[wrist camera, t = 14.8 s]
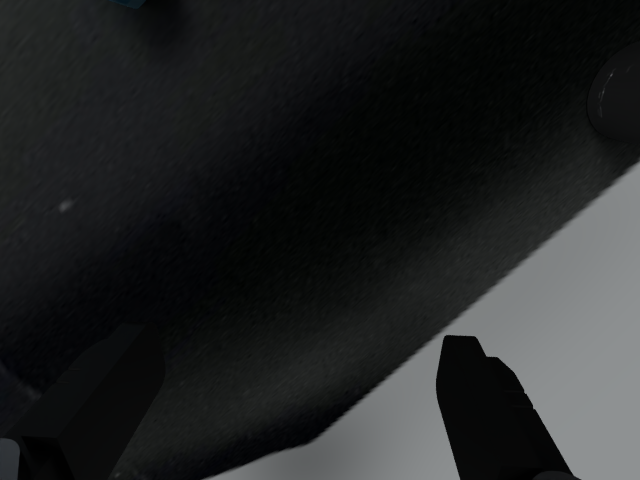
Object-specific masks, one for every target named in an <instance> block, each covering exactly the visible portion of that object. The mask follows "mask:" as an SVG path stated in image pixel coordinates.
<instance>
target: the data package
mask: <svg viewBox="0 0 640 480" xmlns="http://www.w3.org/2000/svg"><path fill="white" fill-rule="evenodd" d="M109 1H112V2H115V3H118V4H121V5H125V6H128V7H131V8H134V9H138V8H140V6H141V5H142V4H143V3H144V2H145V1H146V0H109Z"/></svg>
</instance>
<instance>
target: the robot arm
mask: <svg viewBox="0 0 640 480" xmlns="http://www.w3.org/2000/svg"><path fill="white" fill-rule="evenodd" d="M587 111H588V116H589V119H590V122H591V123H592V125H593V126H594V128H595V129H596V130H597V131H598V132H599V133H600V134H602V135H604V136H606V137H608V138H611V139H615V140H619V141H623V142H627V143H631V144H636V145H639V146H640V41H638V42H635V43H633V44H631V45H628V46H626V47H625V48H623V49H622V50H620V51H619V52H617V53H616V54H615V55H614V56H613V57H611V58H610V59H609V60H608V61H607V62H606V63H605V64H604V66H603V67H602V68H601V69H600V71H599V72H598V74H597V75H596V77H595V79H594V81H593V83H592V85H591V88H590V91H589V94H588V100H587ZM164 377H165V361H164V356H163V352H162V348H161V343H160V339H159V334H158V330H157V327H156V325H155V324H154V323H152V322H123V323H122V324H121V325H120V326H119V327H118V328H117V329H116V330H115V331H114V332H113V334H112V335H111V336H110V337H109V338H108V339H103V340H101V341H100V342H98V343H96V344H95V345H93V346H92V347H90V348H89V349H87V350H86V351H84V352H83V353H82V354H81V355H80V356H79V357H78V358H77V359H76V360H75V361H74V362H73V364H72V365H71V366H70V367H69V370H68V371H65V372H64V373H63V374H62V375H61V376H60V377H59V378H58V379H57V382H56V384H53V385H52V386H51V387H50V388H49V389H48V390H47V391H46V392H45V393H44V394H43V395H42V396H41V397H40V399H39V400H38V401H37V402H36V403H35V404H34V405H33V406H32V407H31V408H30V409H29V410H28V411H27V412H26V413H25V414H24V416H23V417H22V418H21V419H20V420H19V421H18V422H17V423H16V424H15V425H14V426H13V427H12V428H11V429H10V430H9V431H8V433H7V434H6V435H5V436H4V437H3V438H0V480H107V479H108V477H109V475H110V473H111V472H112V470H113V468H114V467H115V465H116V463H117V461H118V460H119V458H120V456H121V455H122V453H123V451H124V450H125V448H126V446H127V444H128V443H129V441H130V439H131V438H132V436H133V434H134V432H135V431H136V429H137V427H138V426H139V424H140V422H141V421H142V419H143V417H144V415H145V414H146V412H147V410H148V409H149V407H150V405H151V403H152V402H153V400H154V398H155V397H156V395H157V393H158V392H159V390H160V388H161V386H162V384H163V381H164ZM436 393H437V400H438V404H439V407H440V410H441V414H442V418H443V421H444V424H445V428H446V432H447V435H448V438H449V442H450V445H451V449H452V452H453V456H454V459H455V463H456V466H457V470H458V473H459V477H460V480H581V479H579V478H577V477H575V476H574V475H573V474H572V472H571V471H570V469H569V467H568V466H567V464H566V462H565V460H564V459H563V457H562V455H561V453H560V452H559V450H558V448H557V446H556V445H555V443H554V441H553V439H552V438H551V436H550V434H549V432H548V431H547V429H546V427H545V425H544V424H543V422H542V420H541V418H540V417H539V415H538V413H537V412H536V410H535V409H533V405H532V403H531V401H530V399H529V398H528V396H527V394H525V393H524V389H523V387H522V385H521V384H520V382H519V380H518V379H517V377H516V375H515V373H514V372H513V371H512V370H511V369H510V368H509V367H508V366H506V365H505V364H504V363H503V362H502V361H501V360H500V359H499V358H498V357H486V355H485V353H484V351H483V349H482V347H481V345H480V343H479V341H478V339H477V338H476V337H475V336H455V335H446V336H445V337H444V340H443V344H442V349H441V355H440V361H439V366H438V371H437V378H436Z"/></svg>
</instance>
